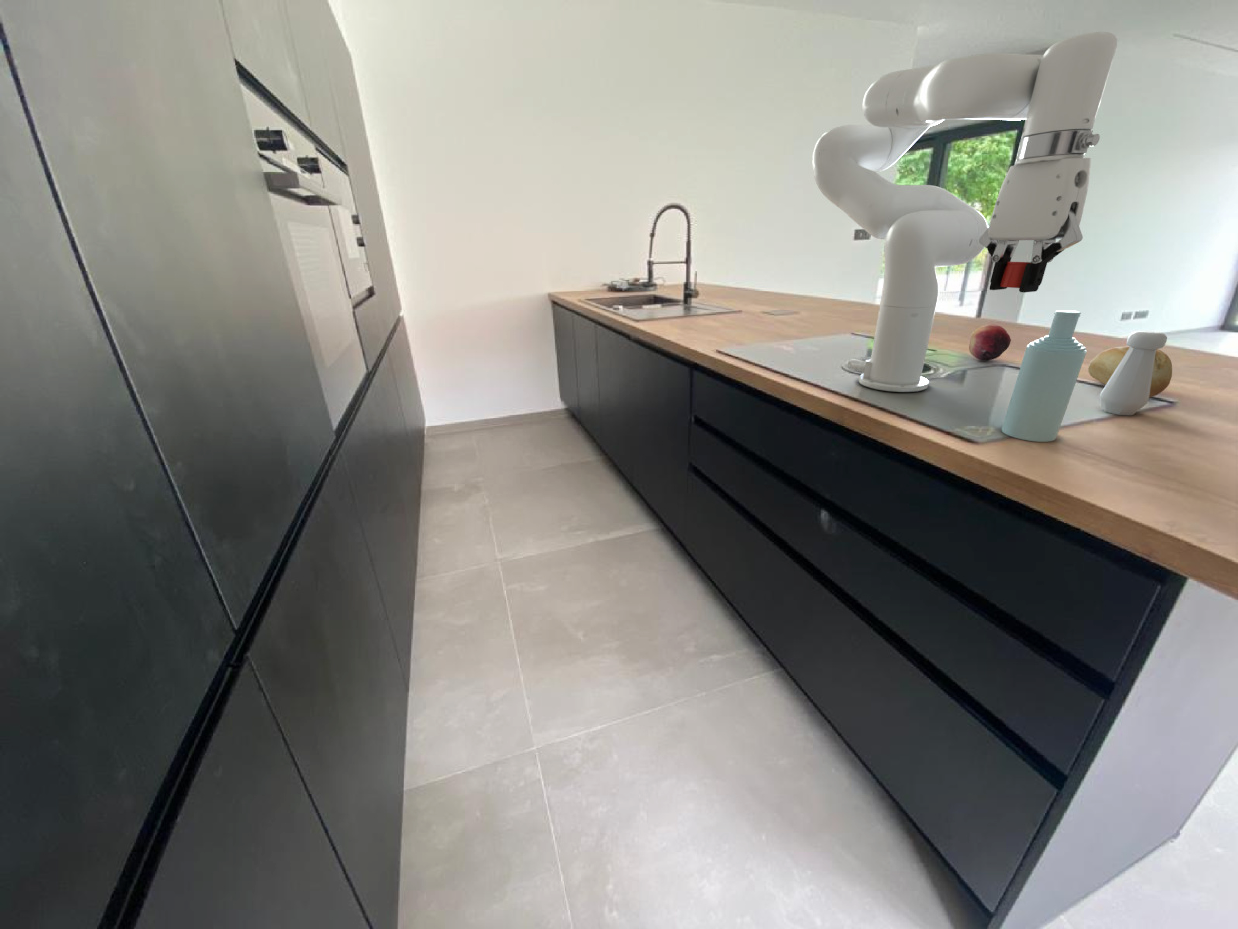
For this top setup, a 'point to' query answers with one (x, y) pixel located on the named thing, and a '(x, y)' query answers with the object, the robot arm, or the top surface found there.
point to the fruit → (989, 342)
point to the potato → (1111, 358)
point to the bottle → (1045, 382)
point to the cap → (1013, 274)
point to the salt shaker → (1132, 375)
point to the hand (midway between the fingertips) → (1013, 289)
